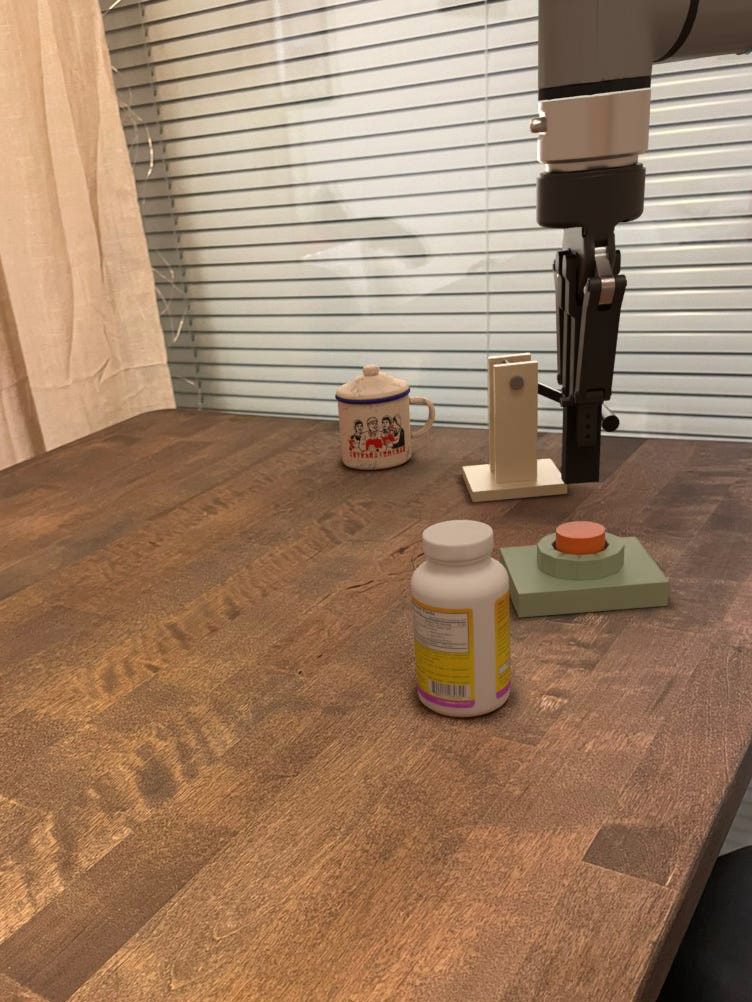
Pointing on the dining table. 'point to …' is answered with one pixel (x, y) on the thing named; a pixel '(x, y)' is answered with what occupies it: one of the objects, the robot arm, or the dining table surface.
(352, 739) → the dining table surface
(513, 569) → the button box
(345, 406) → the teacup with lid
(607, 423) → the black lever
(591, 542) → the button
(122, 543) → the dining table surface
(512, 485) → the lever stand
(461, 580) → the supplement bottle
